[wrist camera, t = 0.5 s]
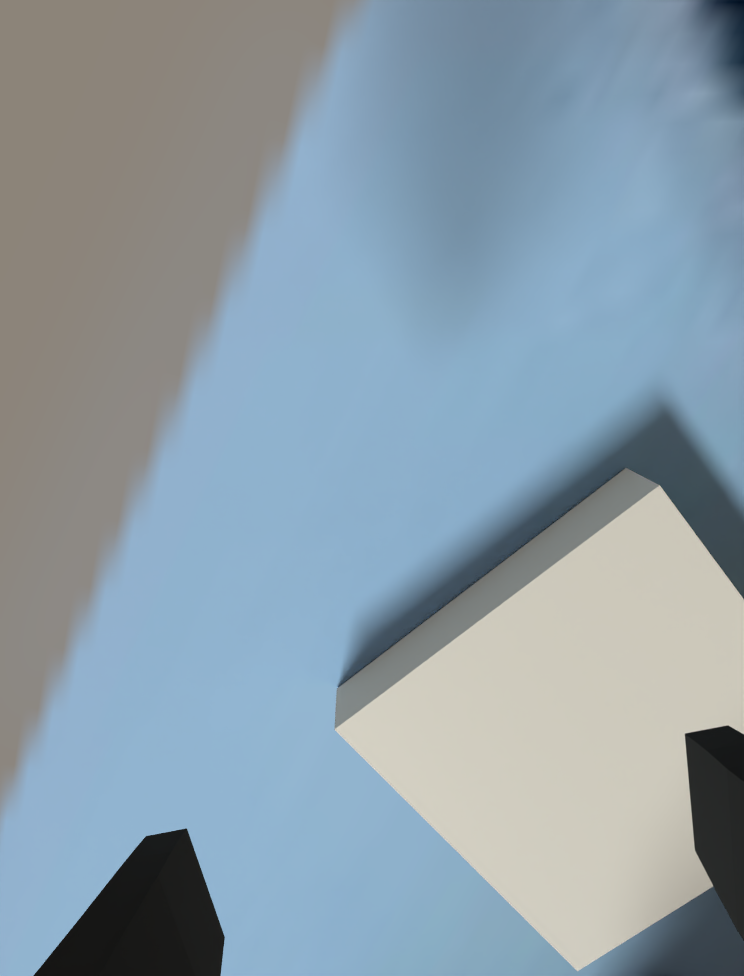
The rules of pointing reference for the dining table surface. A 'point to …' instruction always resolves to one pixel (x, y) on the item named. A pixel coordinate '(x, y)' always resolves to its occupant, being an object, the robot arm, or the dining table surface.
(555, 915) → the white stand
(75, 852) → the dining table surface
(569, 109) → the dining table surface
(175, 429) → the dining table surface
